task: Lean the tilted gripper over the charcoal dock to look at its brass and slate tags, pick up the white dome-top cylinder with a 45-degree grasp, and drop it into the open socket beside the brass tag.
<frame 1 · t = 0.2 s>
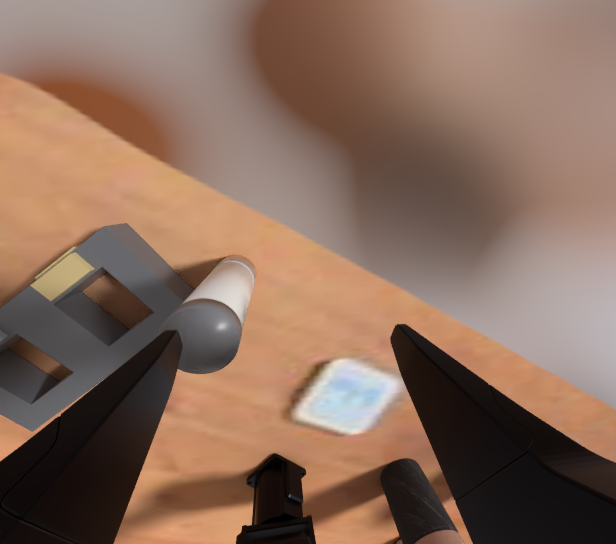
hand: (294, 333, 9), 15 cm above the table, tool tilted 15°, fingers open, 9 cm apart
travel mug: (399, 472, 38), on the table
white dome-top cylinder: (236, 273, 24), on the table
dock: (90, 323, 23), on the table
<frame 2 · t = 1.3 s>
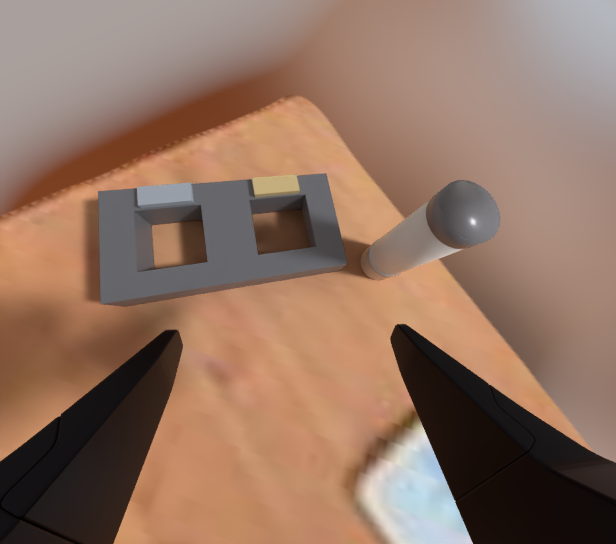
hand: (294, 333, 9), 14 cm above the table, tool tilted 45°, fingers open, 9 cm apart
white dome-top cylinder: (377, 263, 25), on the table
dock: (234, 240, 24), on the table
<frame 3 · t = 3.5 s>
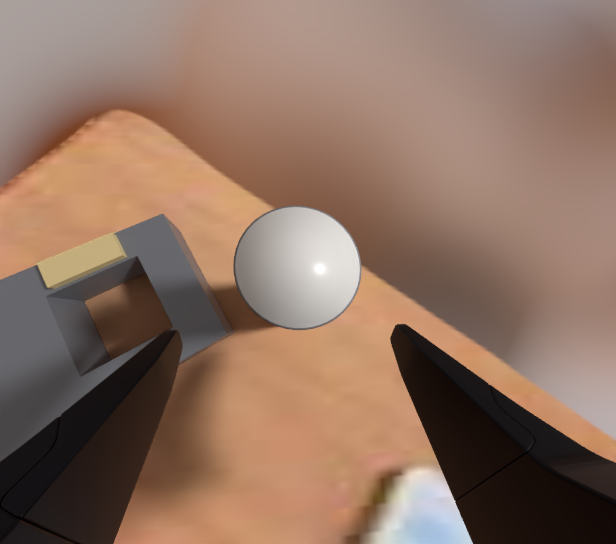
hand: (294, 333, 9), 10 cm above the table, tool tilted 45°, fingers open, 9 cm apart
white dome-top cylinder: (283, 301, 19), on the table
dock: (66, 350, 16), on the table
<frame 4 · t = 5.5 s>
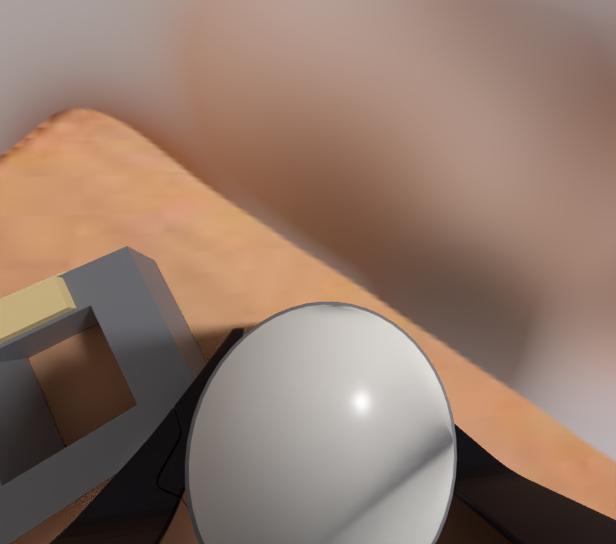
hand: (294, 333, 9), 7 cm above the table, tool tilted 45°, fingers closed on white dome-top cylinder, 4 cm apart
white dome-top cylinder: (285, 349, 15), on the table, touching gripper
dock: (0, 426, 12), on the table
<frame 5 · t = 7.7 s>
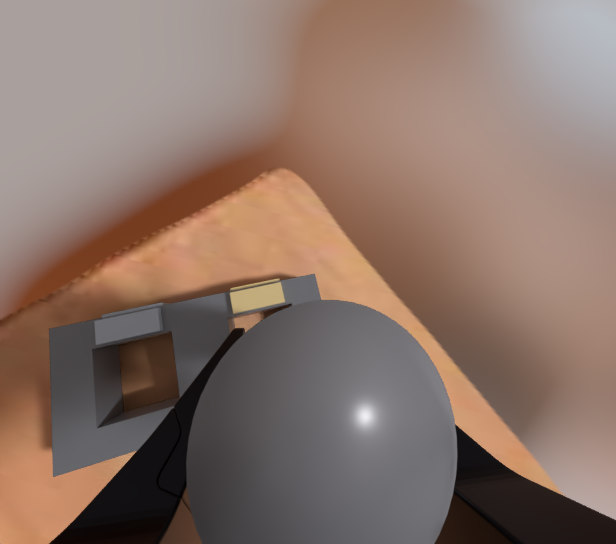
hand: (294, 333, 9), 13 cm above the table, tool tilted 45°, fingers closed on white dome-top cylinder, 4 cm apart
white dome-top cylinder: (285, 349, 15), point 7 cm above the table, touching gripper
dock: (214, 353, 21), on the table
when the fingers open (7 cm above the table, at t = 10.0 s): white dome-top cylinder stays where it is, resting in dock.
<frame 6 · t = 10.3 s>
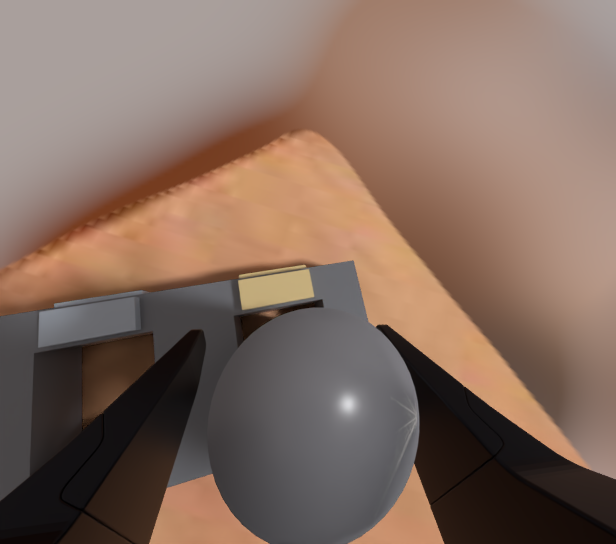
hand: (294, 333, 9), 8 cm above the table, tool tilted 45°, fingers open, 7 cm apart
white dome-top cylinder: (285, 348, 16), resting in dock
dock: (213, 363, 15), on the table
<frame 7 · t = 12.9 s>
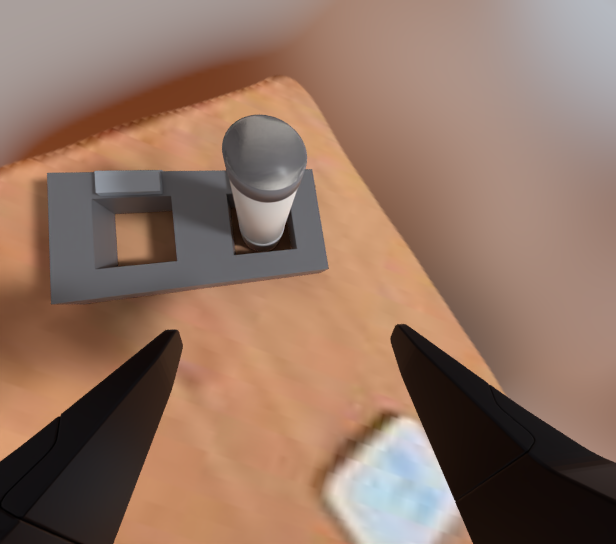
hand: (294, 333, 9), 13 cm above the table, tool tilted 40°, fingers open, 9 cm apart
white dome-top cylinder: (261, 232, 23), resting in dock
dock: (209, 236, 22), on the table
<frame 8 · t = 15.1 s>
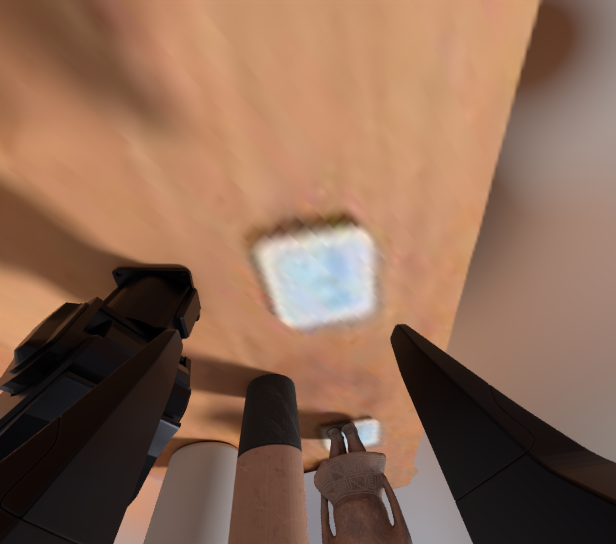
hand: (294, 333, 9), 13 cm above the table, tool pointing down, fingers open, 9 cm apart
travel mug: (271, 387, 34), on the table
clay figurine: (341, 428, 44), on the table
cylinder vase: (207, 453, 43), on the table
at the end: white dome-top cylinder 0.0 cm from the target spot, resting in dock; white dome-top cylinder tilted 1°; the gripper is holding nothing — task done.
